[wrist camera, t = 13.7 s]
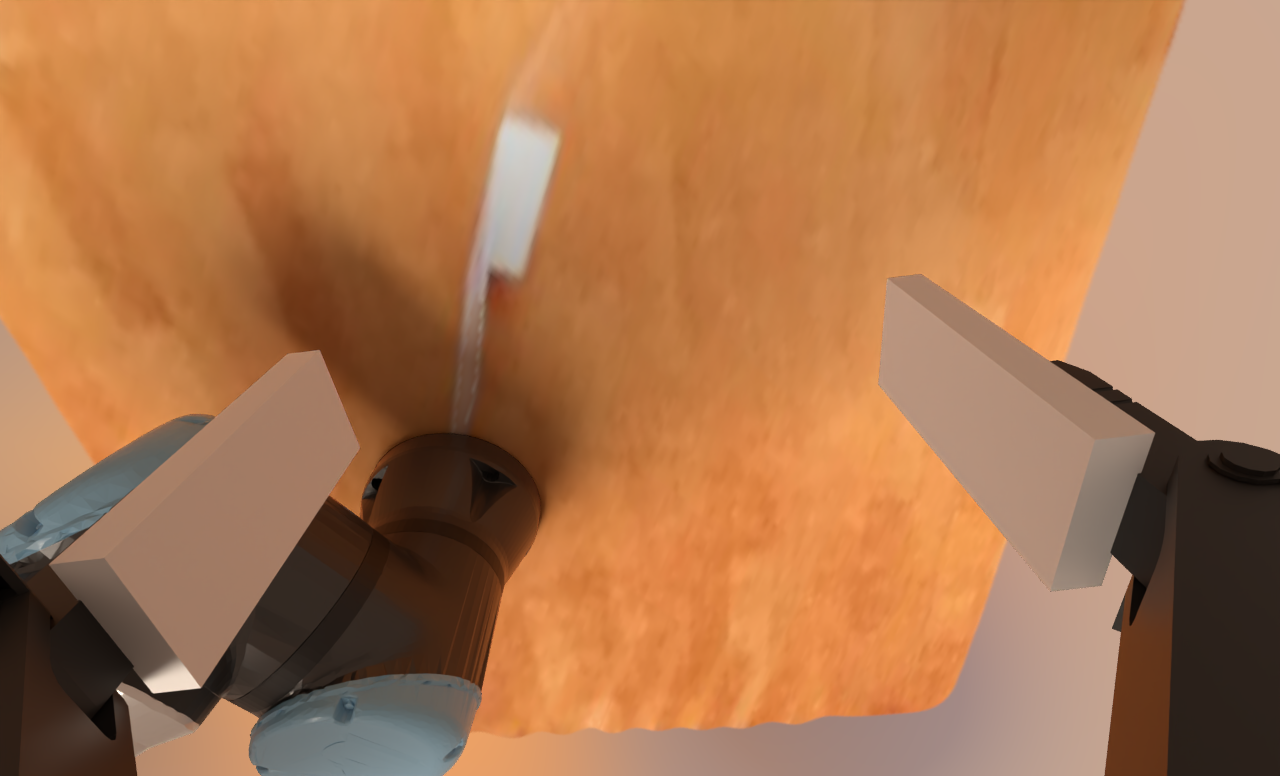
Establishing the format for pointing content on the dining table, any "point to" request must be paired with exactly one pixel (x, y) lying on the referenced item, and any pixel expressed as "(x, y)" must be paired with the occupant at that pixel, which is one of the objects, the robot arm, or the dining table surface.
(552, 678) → the dining table surface
